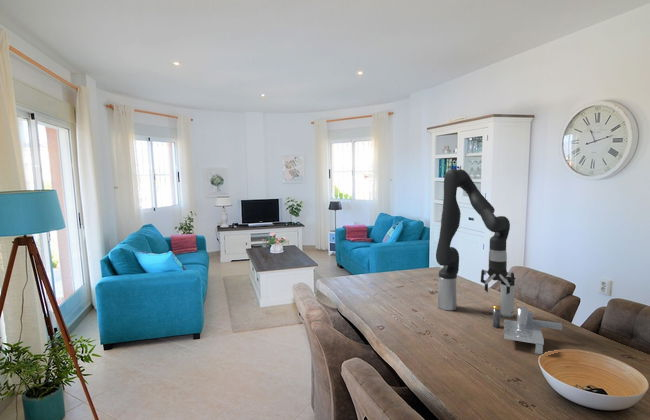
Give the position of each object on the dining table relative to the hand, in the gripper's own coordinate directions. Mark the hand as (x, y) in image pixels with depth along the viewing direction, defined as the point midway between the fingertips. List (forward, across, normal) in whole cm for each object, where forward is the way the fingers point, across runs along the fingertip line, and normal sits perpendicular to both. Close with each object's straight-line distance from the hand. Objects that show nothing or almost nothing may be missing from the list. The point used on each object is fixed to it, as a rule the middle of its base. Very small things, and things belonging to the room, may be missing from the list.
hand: (497, 292), depth 165 cm
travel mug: (+17, +5, +16) cm, 24 cm away
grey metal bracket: (+17, +14, -13) cm, 25 cm away
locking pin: (+17, 0, 0) cm, 17 cm away
